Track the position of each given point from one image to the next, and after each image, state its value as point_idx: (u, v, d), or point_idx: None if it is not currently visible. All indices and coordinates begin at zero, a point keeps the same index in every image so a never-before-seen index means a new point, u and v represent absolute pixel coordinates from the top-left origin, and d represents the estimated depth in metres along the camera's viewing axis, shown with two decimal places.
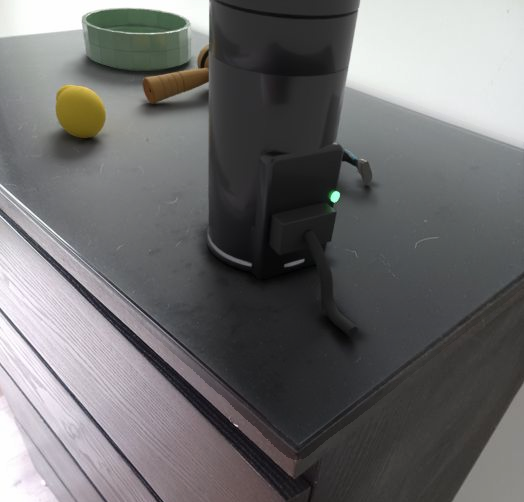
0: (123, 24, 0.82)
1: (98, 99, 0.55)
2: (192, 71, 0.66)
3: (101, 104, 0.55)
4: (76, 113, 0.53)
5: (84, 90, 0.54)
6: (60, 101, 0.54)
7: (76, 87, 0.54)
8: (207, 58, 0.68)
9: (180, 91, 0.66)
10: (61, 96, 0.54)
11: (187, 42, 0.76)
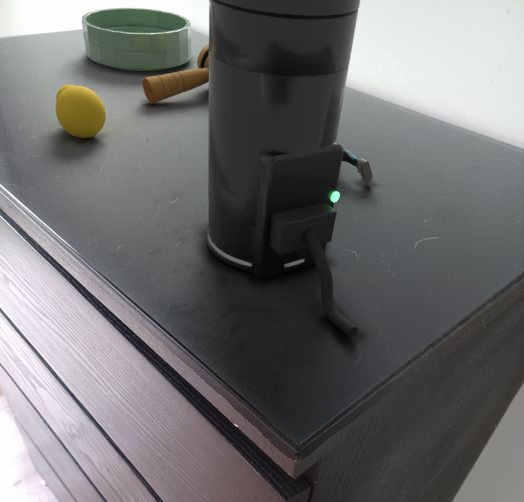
0: (123, 24, 0.82)
1: (98, 99, 0.55)
2: (192, 71, 0.66)
3: (101, 104, 0.55)
4: (76, 113, 0.53)
5: (84, 90, 0.54)
6: (60, 101, 0.54)
7: (76, 87, 0.54)
8: (207, 58, 0.68)
9: (180, 91, 0.66)
10: (61, 96, 0.54)
11: (187, 42, 0.76)
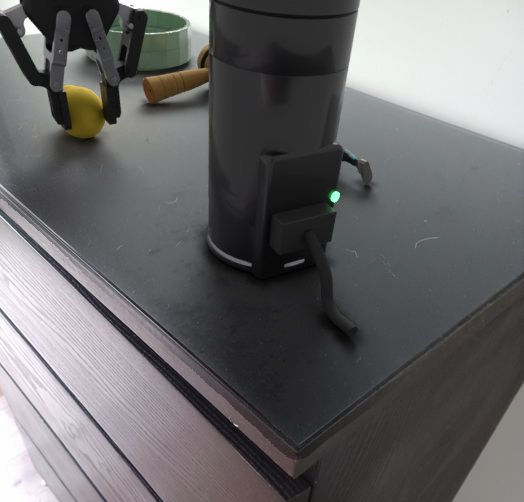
0: None
1: (98, 100, 0.55)
2: (192, 71, 0.66)
3: (101, 105, 0.55)
4: (76, 113, 0.53)
5: (84, 91, 0.54)
6: None
7: (76, 87, 0.54)
8: (207, 58, 0.68)
9: (180, 91, 0.66)
10: None
11: (187, 42, 0.76)
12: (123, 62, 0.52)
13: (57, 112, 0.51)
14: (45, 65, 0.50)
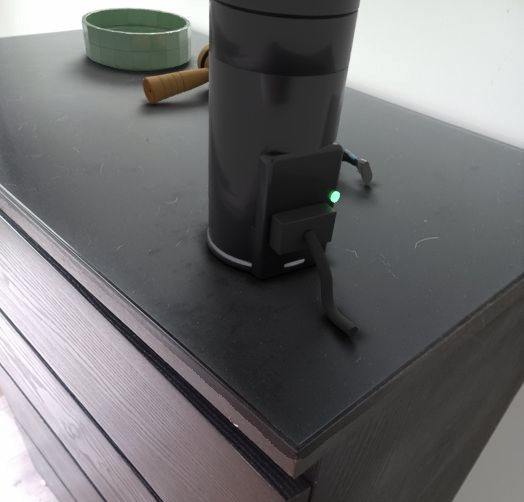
0: (123, 24, 0.82)
1: None
2: (192, 71, 0.66)
3: None
4: None
5: None
6: None
7: None
8: (207, 58, 0.68)
9: (180, 91, 0.66)
10: None
11: (187, 42, 0.76)
12: None
13: None
14: None
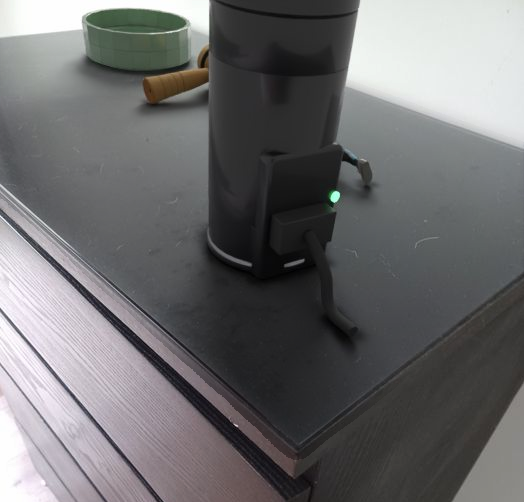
0: (123, 24, 0.82)
1: None
2: (192, 71, 0.66)
3: None
4: None
5: None
6: None
7: None
8: (207, 58, 0.68)
9: (180, 91, 0.66)
10: None
11: (187, 42, 0.76)
12: None
13: None
14: None
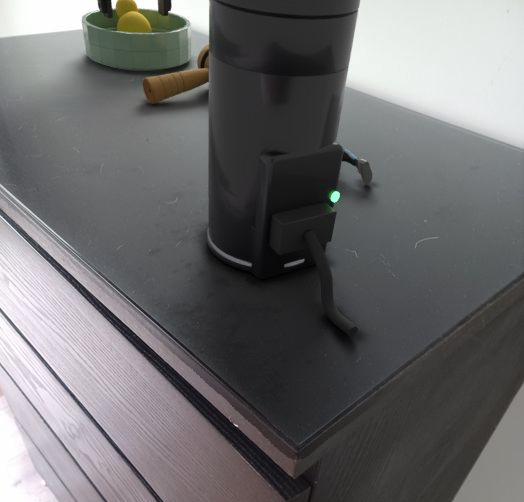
0: None
1: (149, 31, 0.78)
2: (192, 71, 0.66)
3: None
4: None
5: (142, 25, 0.77)
6: (124, 28, 0.76)
7: (137, 20, 0.76)
8: (207, 58, 0.68)
9: (180, 91, 0.66)
10: (125, 24, 0.76)
11: (187, 42, 0.76)
12: None
13: (103, 3, 0.72)
14: None
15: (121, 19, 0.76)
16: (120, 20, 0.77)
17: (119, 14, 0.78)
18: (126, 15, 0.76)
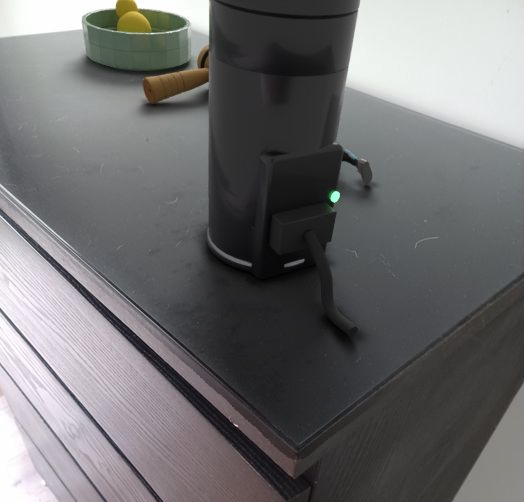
0: None
1: (149, 31, 0.78)
2: (192, 71, 0.66)
3: None
4: None
5: (142, 25, 0.77)
6: (124, 28, 0.76)
7: (137, 20, 0.76)
8: (207, 58, 0.68)
9: (180, 91, 0.66)
10: (125, 24, 0.76)
11: (187, 42, 0.76)
12: None
13: None
14: None
15: (121, 19, 0.76)
16: (120, 20, 0.77)
17: (119, 14, 0.78)
18: (126, 15, 0.76)
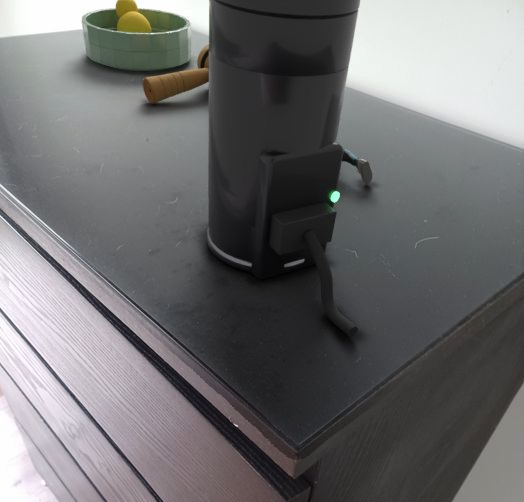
0: None
1: (149, 31, 0.78)
2: (192, 71, 0.66)
3: None
4: None
5: (142, 25, 0.77)
6: (124, 28, 0.76)
7: (137, 20, 0.76)
8: (207, 58, 0.68)
9: (180, 91, 0.66)
10: (125, 24, 0.76)
11: (187, 42, 0.76)
12: None
13: None
14: None
15: (121, 19, 0.76)
16: (120, 20, 0.77)
17: (119, 14, 0.78)
18: (126, 15, 0.76)
